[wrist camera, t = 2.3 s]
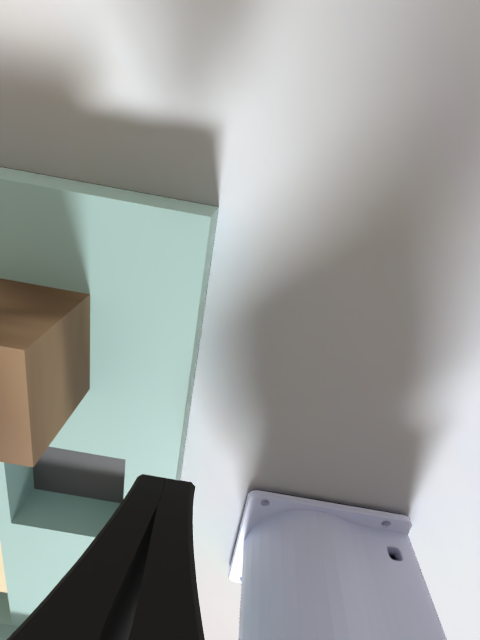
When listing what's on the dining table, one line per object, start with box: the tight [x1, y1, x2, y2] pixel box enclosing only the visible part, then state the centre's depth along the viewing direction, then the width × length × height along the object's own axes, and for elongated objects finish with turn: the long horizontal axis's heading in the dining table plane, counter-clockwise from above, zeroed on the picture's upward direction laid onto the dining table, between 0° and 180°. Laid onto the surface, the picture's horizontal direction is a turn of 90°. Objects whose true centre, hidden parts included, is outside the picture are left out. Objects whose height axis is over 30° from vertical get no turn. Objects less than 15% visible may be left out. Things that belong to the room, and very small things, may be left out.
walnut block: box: [0, 278, 90, 467], centre depth 14 cm, size 4×4×4 cm
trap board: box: [0, 167, 219, 640], centre depth 20 cm, size 16×29×4 cm, turn 170°
